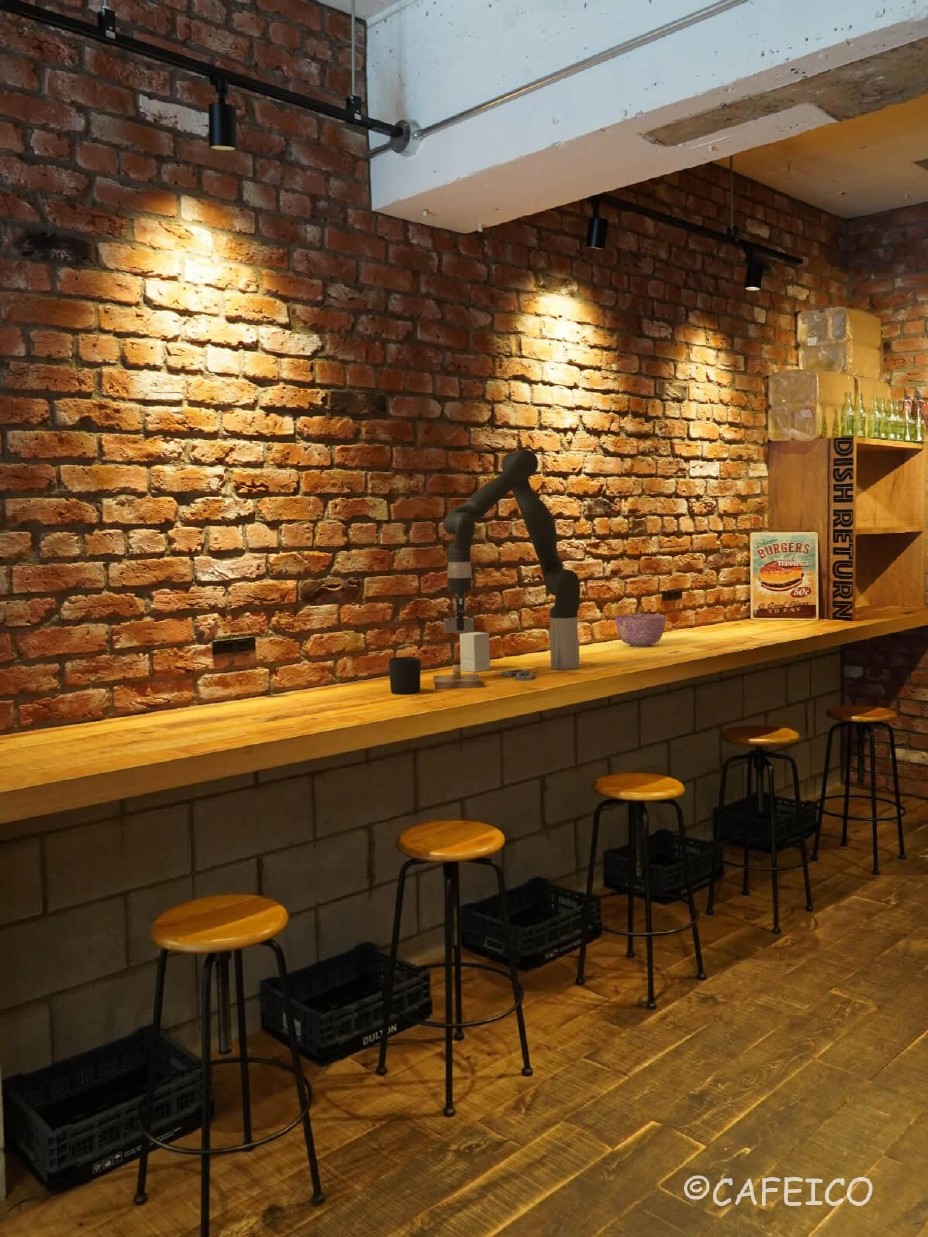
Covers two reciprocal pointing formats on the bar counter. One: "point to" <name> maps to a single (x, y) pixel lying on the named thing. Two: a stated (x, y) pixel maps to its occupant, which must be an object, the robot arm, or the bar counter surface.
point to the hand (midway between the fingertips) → (460, 629)
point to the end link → (451, 626)
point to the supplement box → (474, 652)
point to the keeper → (457, 680)
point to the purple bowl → (640, 629)
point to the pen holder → (404, 675)
